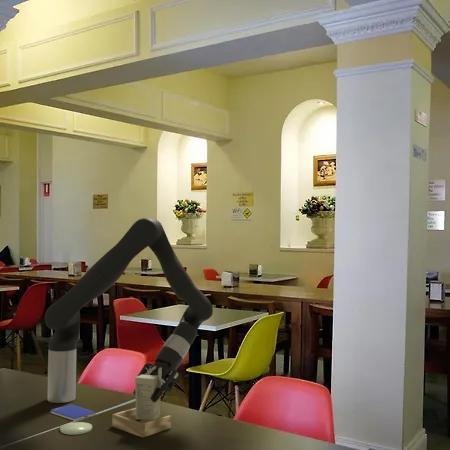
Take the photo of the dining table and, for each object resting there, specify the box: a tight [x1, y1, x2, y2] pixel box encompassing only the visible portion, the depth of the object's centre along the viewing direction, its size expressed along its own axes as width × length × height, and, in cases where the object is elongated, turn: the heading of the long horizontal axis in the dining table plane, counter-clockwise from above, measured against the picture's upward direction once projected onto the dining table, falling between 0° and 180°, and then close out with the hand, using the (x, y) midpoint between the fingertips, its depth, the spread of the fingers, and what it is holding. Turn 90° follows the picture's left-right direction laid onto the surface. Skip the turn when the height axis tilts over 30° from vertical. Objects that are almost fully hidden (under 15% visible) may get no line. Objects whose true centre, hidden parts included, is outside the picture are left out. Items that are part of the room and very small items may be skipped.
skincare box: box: [134, 375, 161, 421], centre depth 166 cm, size 6×4×12 cm
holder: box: [111, 407, 172, 438], centre depth 165 cm, size 11×14×4 cm
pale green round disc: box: [59, 421, 93, 436], centre depth 162 cm, size 9×9×1 cm
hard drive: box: [50, 404, 97, 422], centre depth 176 cm, size 2×8×12 cm
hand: (143, 398), depth 165 cm, fingers closed on skincare box, 7 cm apart
